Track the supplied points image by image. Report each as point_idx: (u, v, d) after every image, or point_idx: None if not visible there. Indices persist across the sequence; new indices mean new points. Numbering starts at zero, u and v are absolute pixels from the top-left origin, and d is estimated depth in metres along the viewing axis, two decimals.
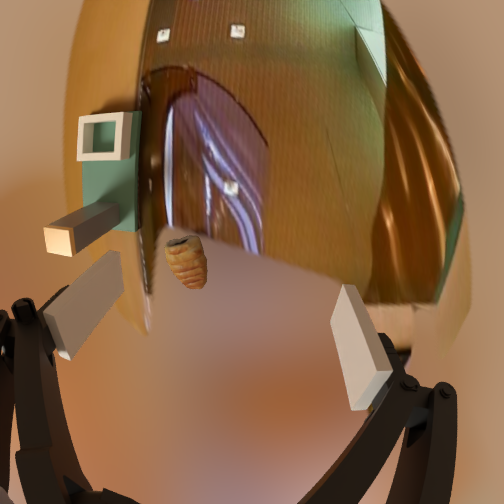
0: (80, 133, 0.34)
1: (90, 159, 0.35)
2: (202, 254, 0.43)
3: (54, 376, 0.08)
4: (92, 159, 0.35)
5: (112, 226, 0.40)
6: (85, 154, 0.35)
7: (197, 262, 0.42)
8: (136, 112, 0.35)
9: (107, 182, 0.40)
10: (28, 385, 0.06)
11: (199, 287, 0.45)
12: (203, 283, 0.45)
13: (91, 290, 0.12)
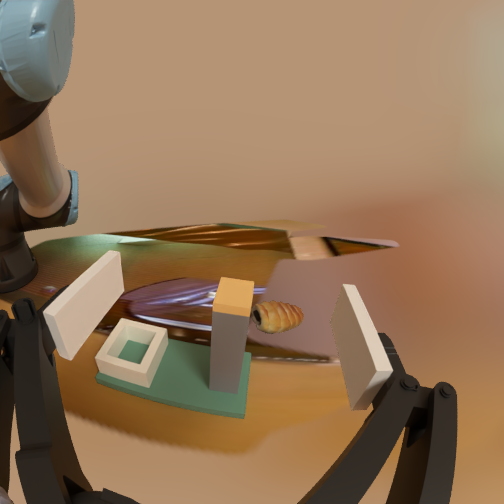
0: (114, 361, 0.29)
1: (152, 356, 0.31)
2: None
3: (54, 376, 0.08)
4: (153, 354, 0.31)
5: None
6: (143, 361, 0.30)
7: None
8: None
9: (188, 370, 0.34)
10: (28, 385, 0.06)
11: None
12: None
13: (91, 290, 0.12)
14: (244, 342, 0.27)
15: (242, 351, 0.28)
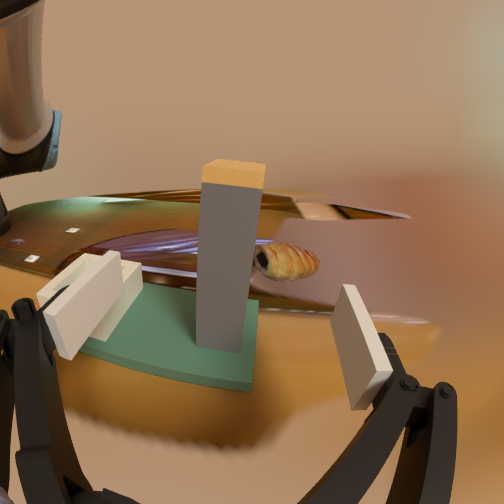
0: None
1: None
2: None
3: (54, 376, 0.08)
4: None
5: None
6: None
7: (279, 243, 0.39)
8: None
9: (166, 319, 0.23)
10: (28, 385, 0.06)
11: None
12: None
13: (91, 290, 0.12)
14: (253, 243, 0.17)
15: (249, 263, 0.18)
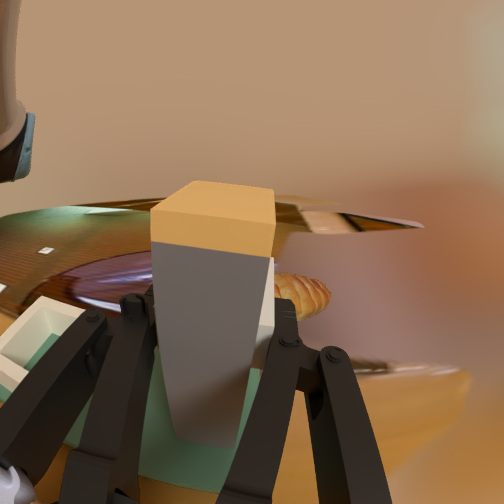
0: (5, 367, 0.11)
1: None
2: None
3: (147, 379, 0.09)
4: None
5: None
6: None
7: (282, 272, 0.31)
8: None
9: None
10: (114, 387, 0.07)
11: (322, 283, 0.32)
12: None
13: None
14: (251, 345, 0.09)
15: (245, 369, 0.10)
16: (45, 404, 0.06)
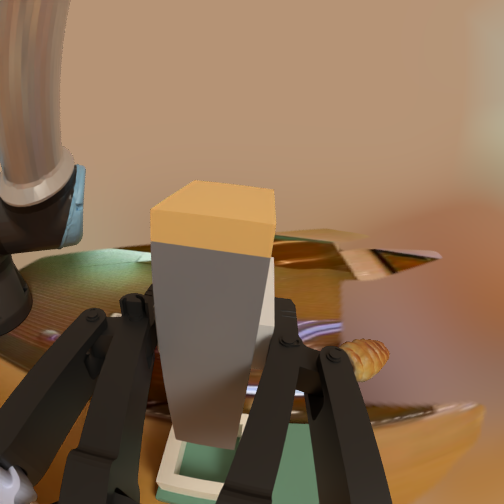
0: (191, 485, 0.15)
1: None
2: None
3: (147, 379, 0.09)
4: None
5: None
6: None
7: (355, 340, 0.36)
8: None
9: (292, 466, 0.19)
10: (114, 387, 0.07)
11: (381, 342, 0.37)
12: (375, 340, 0.37)
13: None
14: (251, 345, 0.09)
15: (245, 370, 0.10)
16: (45, 404, 0.06)
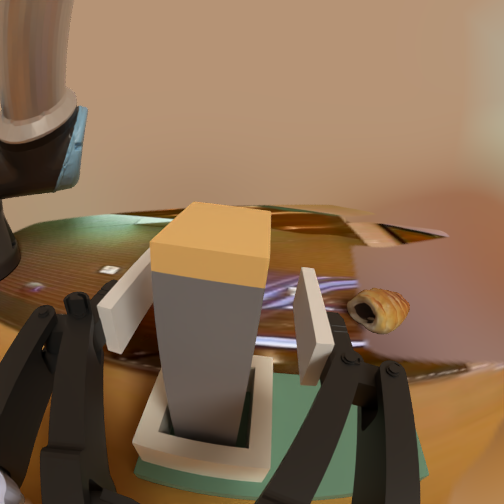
0: (183, 449, 0.11)
1: (268, 425, 0.13)
2: None
3: (100, 374, 0.09)
4: (268, 419, 0.14)
5: None
6: (252, 439, 0.12)
7: (372, 288, 0.32)
8: None
9: None
10: (69, 382, 0.06)
11: None
12: None
13: (140, 283, 0.13)
14: (247, 365, 0.10)
15: (242, 386, 0.10)
16: (14, 399, 0.05)
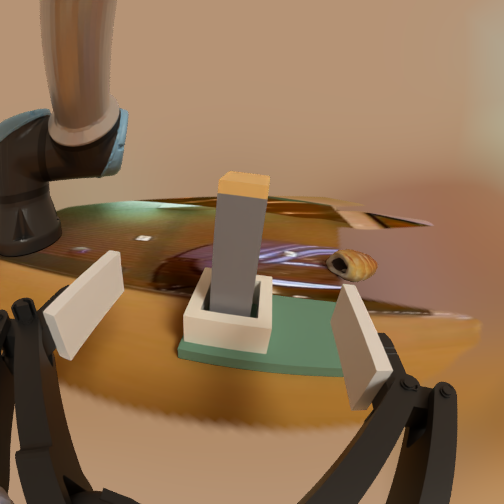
0: (217, 317, 0.22)
1: (270, 308, 0.24)
2: None
3: (54, 376, 0.08)
4: (270, 305, 0.25)
5: None
6: (260, 314, 0.23)
7: (346, 249, 0.44)
8: None
9: (306, 327, 0.27)
10: (28, 385, 0.06)
11: None
12: None
13: (91, 290, 0.12)
14: (259, 243, 0.21)
15: (255, 260, 0.21)
16: None
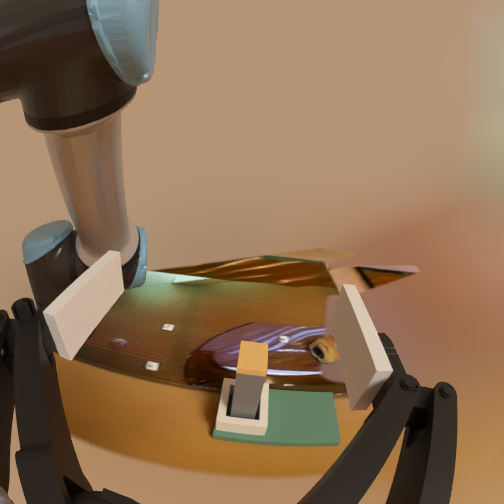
0: (235, 421, 0.34)
1: (266, 411, 0.36)
2: None
3: (54, 376, 0.08)
4: (266, 409, 0.36)
5: None
6: (260, 416, 0.35)
7: (324, 336, 0.56)
8: None
9: (289, 414, 0.39)
10: (28, 385, 0.06)
11: None
12: None
13: (91, 290, 0.12)
14: (260, 392, 0.32)
15: (258, 398, 0.33)
16: None
